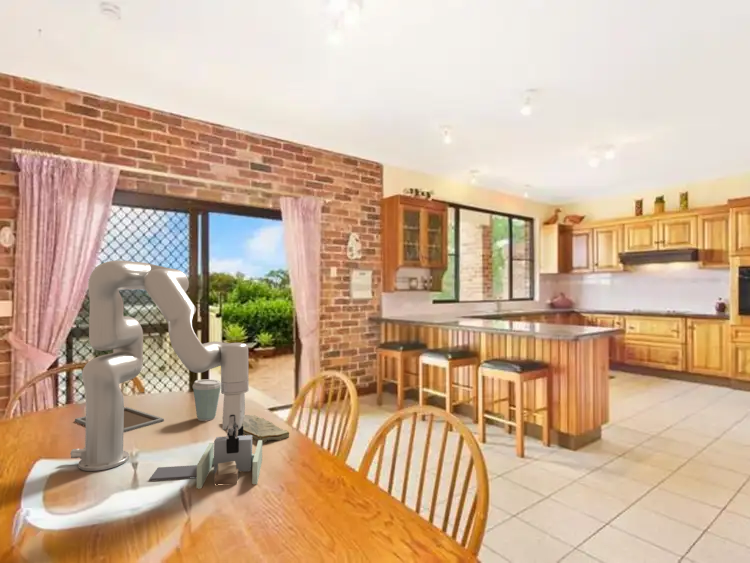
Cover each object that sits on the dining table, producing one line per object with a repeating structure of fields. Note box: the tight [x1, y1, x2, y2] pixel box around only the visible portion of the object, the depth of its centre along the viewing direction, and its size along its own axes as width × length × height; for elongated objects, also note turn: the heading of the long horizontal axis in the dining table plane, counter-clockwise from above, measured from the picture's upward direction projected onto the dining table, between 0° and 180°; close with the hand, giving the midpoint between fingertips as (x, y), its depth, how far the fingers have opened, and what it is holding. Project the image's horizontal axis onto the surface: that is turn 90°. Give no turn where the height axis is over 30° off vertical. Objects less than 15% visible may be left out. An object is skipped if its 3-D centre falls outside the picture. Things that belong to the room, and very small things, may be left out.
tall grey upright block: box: [213, 435, 253, 474], centre depth 121 cm, size 10×4×9 cm, turn 100°
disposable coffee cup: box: [192, 379, 221, 422], centre depth 166 cm, size 11×11×15 cm
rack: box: [196, 440, 263, 489], centre depth 119 cm, size 15×16×6 cm
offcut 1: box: [218, 461, 236, 475], centre depth 114 cm, size 4×3×2 cm, turn 115°
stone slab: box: [234, 414, 290, 443], centre depth 154 cm, size 12×4×30 cm
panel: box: [148, 464, 197, 482], centre depth 118 cm, size 13×7×1 cm, turn 100°
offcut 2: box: [214, 468, 239, 486], centre depth 114 cm, size 6×3×3 cm, turn 100°
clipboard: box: [74, 406, 165, 433], centre depth 162 cm, size 19×2×30 cm
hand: (235, 446), depth 121 cm, fingers open, 9 cm apart
